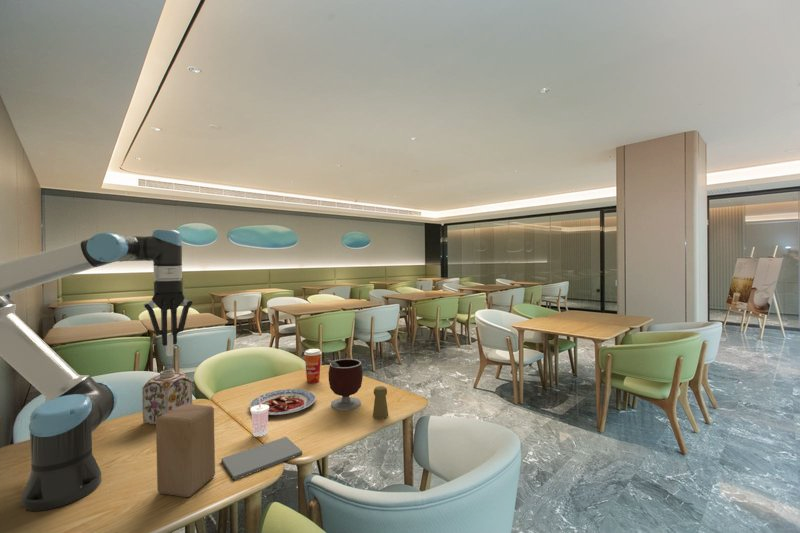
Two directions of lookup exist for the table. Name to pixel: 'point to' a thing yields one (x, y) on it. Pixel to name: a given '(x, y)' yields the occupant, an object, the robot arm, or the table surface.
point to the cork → (380, 402)
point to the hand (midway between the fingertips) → (169, 355)
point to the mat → (260, 457)
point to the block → (185, 449)
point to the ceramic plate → (285, 401)
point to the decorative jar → (165, 394)
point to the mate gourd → (345, 382)
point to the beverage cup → (260, 419)
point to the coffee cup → (312, 365)
